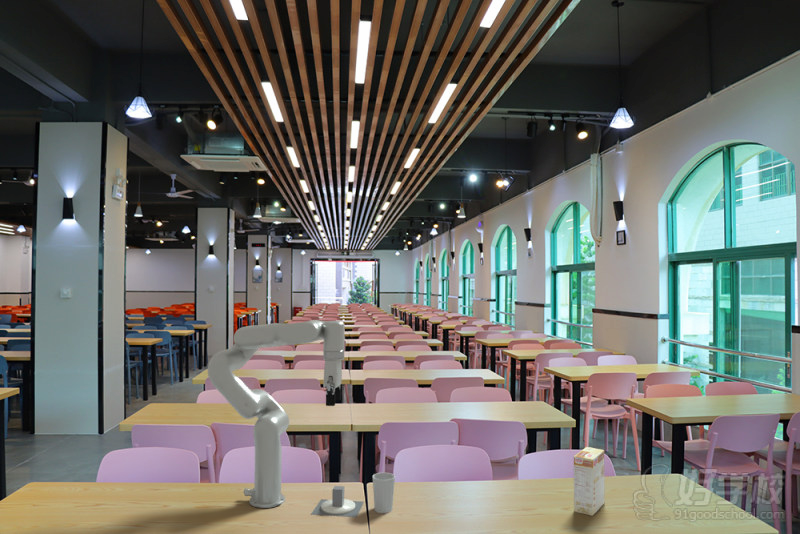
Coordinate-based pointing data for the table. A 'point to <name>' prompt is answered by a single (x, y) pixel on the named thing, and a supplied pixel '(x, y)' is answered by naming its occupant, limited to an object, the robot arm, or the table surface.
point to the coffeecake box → (589, 481)
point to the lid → (338, 503)
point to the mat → (352, 514)
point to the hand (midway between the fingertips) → (333, 402)
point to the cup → (383, 492)
